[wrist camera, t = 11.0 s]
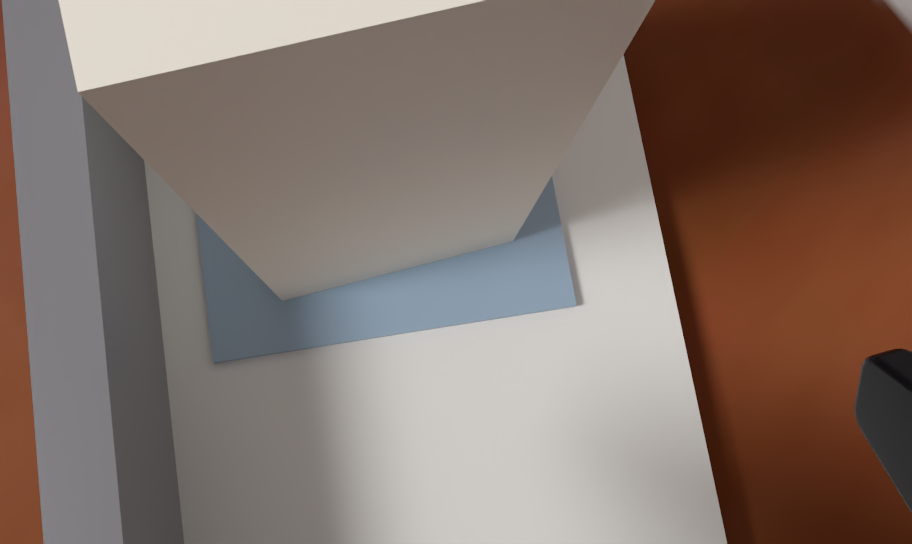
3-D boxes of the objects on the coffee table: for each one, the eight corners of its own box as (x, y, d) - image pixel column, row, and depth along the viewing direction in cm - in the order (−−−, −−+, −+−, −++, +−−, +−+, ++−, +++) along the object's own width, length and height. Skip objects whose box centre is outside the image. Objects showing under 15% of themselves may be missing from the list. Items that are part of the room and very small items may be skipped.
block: (512, 241, 18) (680, -44, 7) (282, 300, 17) (77, 92, 6) (451, 29, 19) (516, -522, 8) (228, 80, 18) (-34, -437, 7)
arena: (741, 657, 17) (843, 728, 13) (153, 775, 16) (70, 891, 12) (586, -80, 20) (632, -207, 16) (78, -22, 19) (-10, -141, 15)
